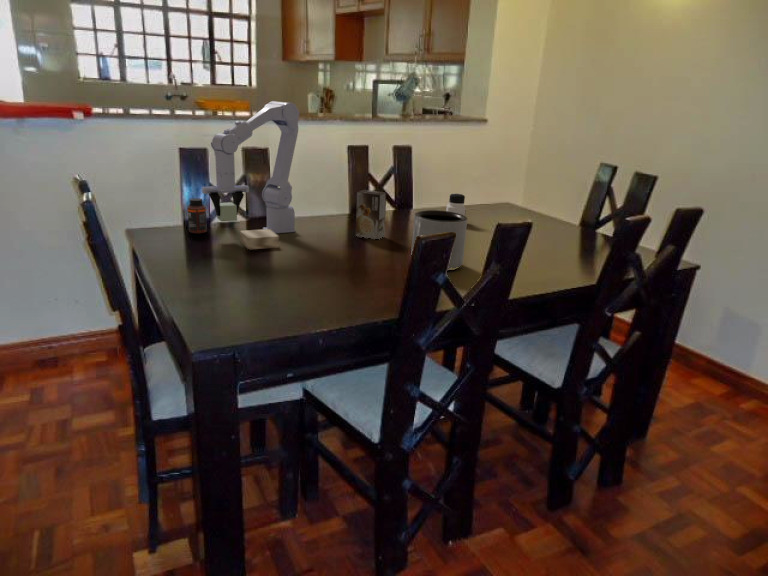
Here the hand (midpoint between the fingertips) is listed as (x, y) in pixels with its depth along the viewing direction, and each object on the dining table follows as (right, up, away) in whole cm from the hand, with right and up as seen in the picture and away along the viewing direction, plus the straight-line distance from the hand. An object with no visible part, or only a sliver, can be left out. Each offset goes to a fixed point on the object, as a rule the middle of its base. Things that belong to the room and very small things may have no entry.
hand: (226, 214), depth 183 cm
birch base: (+11, -10, 0) cm, 15 cm away
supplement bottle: (-13, -5, +10) cm, 17 cm away
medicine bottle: (+80, +3, +48) cm, 93 cm away
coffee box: (+46, -6, +18) cm, 50 cm away
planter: (+67, -17, -10) cm, 70 cm away
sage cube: (0, -1, 0) cm, 1 cm away
